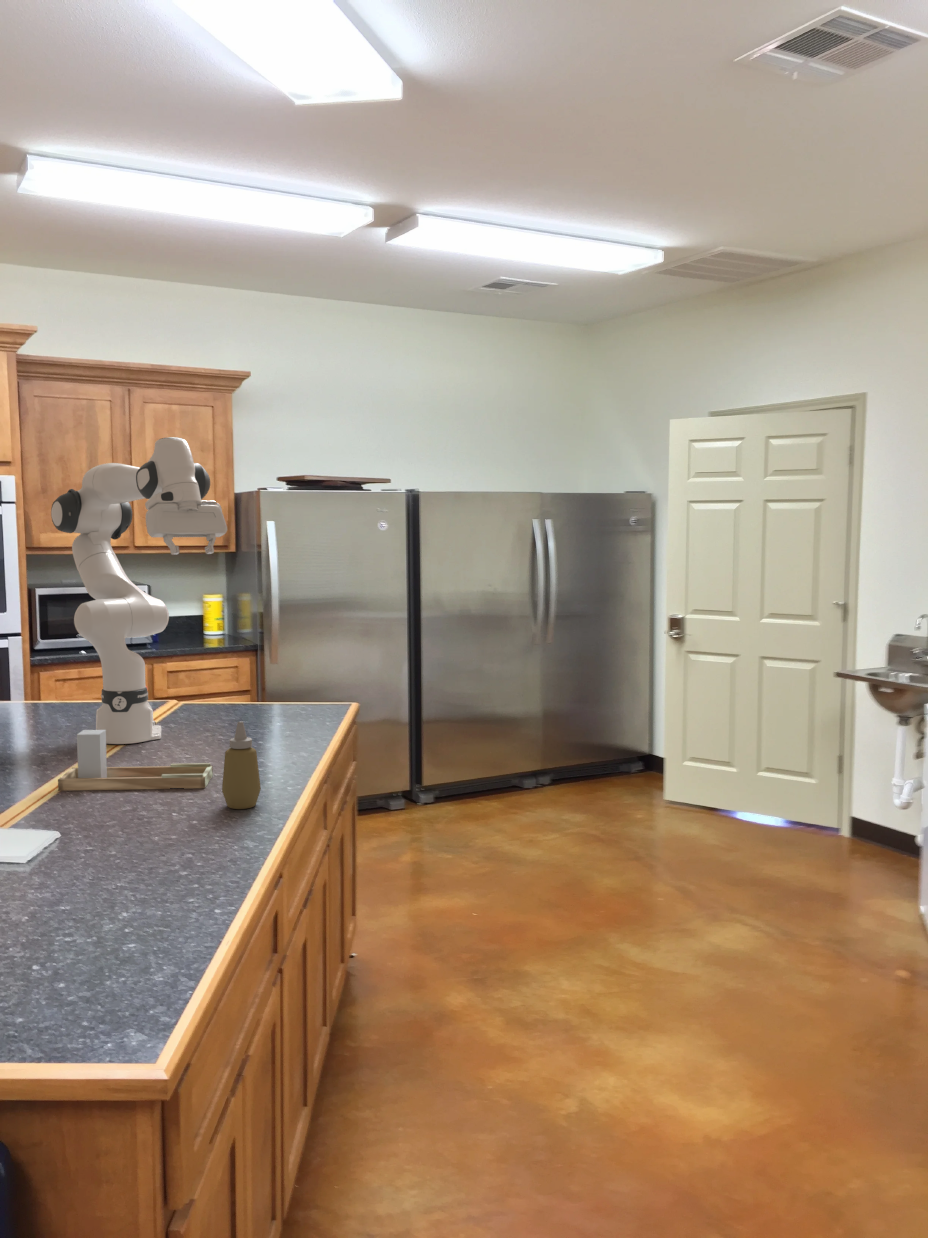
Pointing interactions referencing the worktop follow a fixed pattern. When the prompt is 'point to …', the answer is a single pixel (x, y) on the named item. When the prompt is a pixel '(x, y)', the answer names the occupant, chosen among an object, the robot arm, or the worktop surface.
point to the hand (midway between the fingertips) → (193, 553)
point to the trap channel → (142, 778)
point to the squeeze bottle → (241, 772)
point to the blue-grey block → (92, 754)
